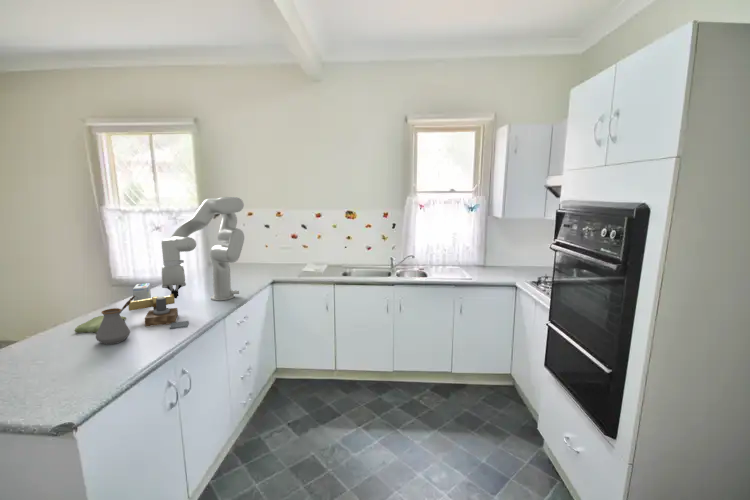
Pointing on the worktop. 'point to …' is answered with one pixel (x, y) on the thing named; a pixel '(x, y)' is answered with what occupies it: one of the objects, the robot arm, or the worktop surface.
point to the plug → (161, 306)
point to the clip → (149, 303)
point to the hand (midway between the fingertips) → (175, 297)
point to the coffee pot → (113, 326)
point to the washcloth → (91, 325)
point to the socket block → (161, 317)
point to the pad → (179, 324)
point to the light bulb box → (142, 291)
